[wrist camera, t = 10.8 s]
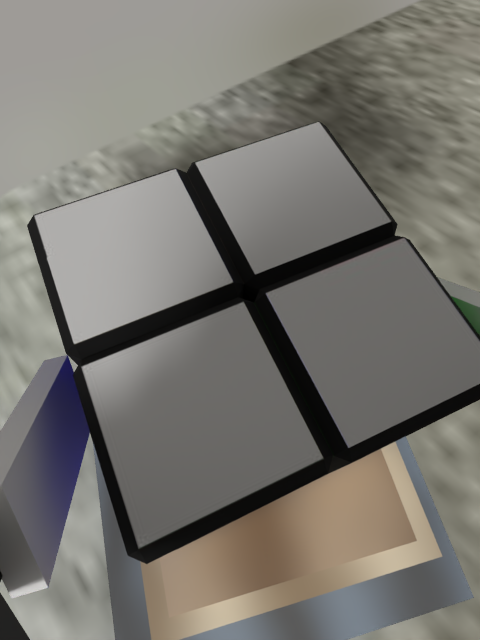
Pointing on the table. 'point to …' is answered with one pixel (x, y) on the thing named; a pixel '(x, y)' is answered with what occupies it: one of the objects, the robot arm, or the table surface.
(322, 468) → the puzzle cube
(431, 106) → the table surface
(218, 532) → the stacking base
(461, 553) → the table surface
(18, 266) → the table surface
